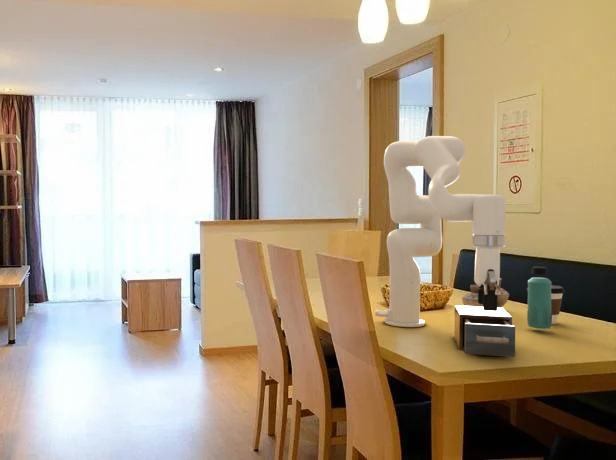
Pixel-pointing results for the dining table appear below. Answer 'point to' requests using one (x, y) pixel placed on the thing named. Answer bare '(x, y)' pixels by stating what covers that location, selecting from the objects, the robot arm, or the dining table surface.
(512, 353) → the drawer
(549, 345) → the dining table surface
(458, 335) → the cabinet
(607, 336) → the dining table surface
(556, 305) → the coffee cup
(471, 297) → the pottery
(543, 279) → the beverage bottle
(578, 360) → the dining table surface
